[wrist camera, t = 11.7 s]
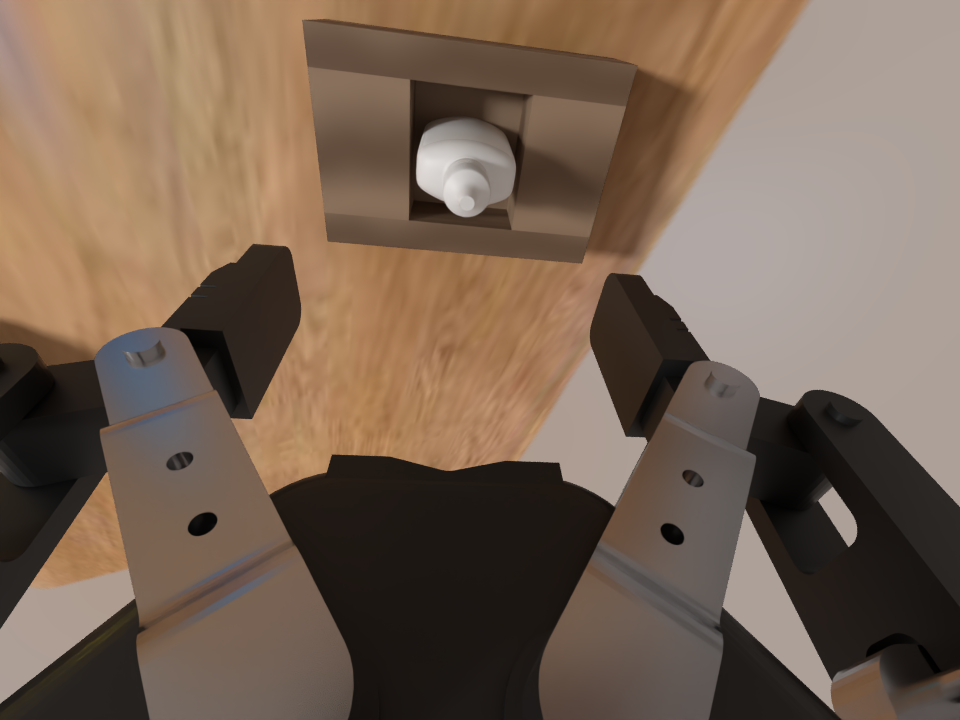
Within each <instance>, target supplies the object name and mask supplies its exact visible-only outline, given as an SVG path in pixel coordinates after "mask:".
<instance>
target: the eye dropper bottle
mask: <svg viewBox="0 0 960 720" xmlns="http://www.w3.org/2000/svg"><path fill="white" fill-rule="evenodd" d="M515 173H516V163H515V159H514V156H513V153H512V150H511V147H510V145H509V142H508V139H507V137H506V135H505V134H504V132H502V131H501V130H500V129H498V128H497V127H495V126H493V125H491V124H489V123H487V122H485V121H482V120H479V119H476V118H472V117H465V116H451V117H444V118H440V119H436V120H433V121H431V122H429V123H428V124H427V125H426V126H425V129H424V132H423V135H422V139H421V142H420V145H419V149H418V153H417V166H416V179H417V183H418V185H419V186H420V188H421V189H423V190H424V191H425V192H427V193H428V194H430V195H432V196H434V197H435V198H438V199H440V200H442V201H444V202H445V204H446V205H447V207H448V208H449V209H450V210H451V212H453V213H455V214H456V215H458V216H462V217H473V216H475V215H477V214H479V213H481V212H482V211H483V210H485V208H486V206H488V205H489V204H493V203H497V202H499V201H502V200H504V199H506V198H507V197H509V196H510V194H511V193H512V190H513V186H514V180H515Z"/></svg>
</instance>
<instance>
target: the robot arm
mask: <svg viewBox="0 0 960 720" xmlns="http://www.w3.org/2000/svg"><path fill="white" fill-rule="evenodd" d="M200 285H201V287H198V288H197V289H196V290H195V291H194V292H193V293H192V294H191V297H188V298H187V299H186V300H185V302H184V303H183V304H182V305H181V306H180V307H179V308H178V309H177V310H176V311H175V312H174V313H173V315H172V316H171V317H170V318H169V319H168V320H167V321H166V322H165V323H164V324H163V325H162V326H161V327H155V328H146V329H140V330H136V331H132V332H129V333H126V334H124V335H121V336H119V337H117V338H115V339H113V340H111V341H110V342H108V343H107V344H105V345H104V346H103V347H102V348H101V349H100V350H99V351H98V353H97V354H96V356H95V360H90V361H83V362H75V363H68V364H60V365H52V366H46V365H45V363H44V362H43V360H42V359H41V358H40V356H39V355H38V353H37V352H36V350H35V349H33V348H32V347H30V346H27V345H23V344H13V343H9V344H0V628H1V627H2V626H3V624H4V623H5V621H6V620H7V618H8V617H9V615H10V614H11V612H12V611H13V609H14V608H15V606H16V605H17V603H18V602H19V600H20V599H21V597H22V596H23V595H24V593H25V592H26V590H27V589H28V587H29V586H30V584H31V583H32V581H33V580H34V578H35V577H36V575H37V574H38V572H39V571H40V569H41V568H42V566H43V565H44V563H45V562H46V561H47V559H48V558H49V556H50V555H51V553H52V552H53V550H54V549H55V547H56V546H57V544H58V543H59V541H60V540H61V538H62V537H63V535H64V534H65V532H66V531H67V529H68V528H69V526H70V525H71V524H72V522H73V521H74V519H75V518H76V516H77V515H78V513H79V512H80V510H81V509H82V507H83V506H84V504H85V503H86V501H87V500H88V498H89V497H90V495H91V494H92V492H93V491H94V490H95V488H96V487H97V485H98V484H99V482H100V481H101V479H102V478H103V476H104V475H105V473H106V472H108V475H109V480H110V485H111V489H112V494H113V498H114V503H115V508H116V512H117V517H118V521H119V526H120V531H121V535H122V540H123V544H124V549H125V554H126V558H127V563H128V568H129V572H130V577H131V581H132V586H133V591H134V595H135V599H134V600H132V601H131V602H130V603H129V604H127V605H126V606H125V607H123V608H122V609H121V610H120V611H118V612H117V613H116V614H114V615H113V616H112V617H111V618H109V619H108V620H107V621H106V622H104V623H103V624H102V625H100V626H99V627H98V628H97V629H95V630H94V631H93V632H91V633H90V634H89V635H88V636H86V637H85V638H84V639H82V640H81V641H80V642H79V643H77V644H76V645H75V646H74V647H72V648H71V649H70V650H69V651H67V652H66V653H65V654H63V655H62V656H61V657H59V658H58V659H57V660H56V661H54V662H53V663H52V664H51V665H49V666H48V667H47V668H45V669H44V670H43V671H42V672H40V673H39V674H38V675H36V676H35V677H34V678H33V679H31V680H30V681H29V682H27V684H25V685H24V686H22V687H21V688H20V689H19V690H17V691H16V692H15V693H14V694H12V695H11V696H10V697H8V698H7V699H6V700H5V701H3V702H2V703H1V704H0V720H960V507H959V506H958V505H957V504H956V503H955V502H954V500H953V499H952V498H951V497H950V496H949V495H948V494H947V493H946V492H945V491H944V490H943V489H942V488H941V487H940V485H939V484H938V483H937V482H936V481H935V480H934V479H933V478H932V477H931V476H930V475H929V474H928V473H927V472H926V470H925V469H924V468H923V467H922V466H921V465H920V464H919V463H918V462H917V461H916V460H915V459H914V458H913V457H912V456H911V454H910V453H909V452H908V451H907V450H906V449H905V448H904V447H903V446H902V445H901V444H900V443H899V441H898V440H897V439H896V438H895V437H894V436H893V435H892V434H891V433H890V432H889V431H888V430H887V429H886V428H885V426H884V425H883V424H882V423H881V422H880V421H879V420H878V419H877V418H876V417H875V416H874V415H873V414H872V413H871V412H869V411H868V410H867V409H865V408H864V407H862V406H861V405H860V404H858V403H856V402H855V401H852V400H851V399H849V398H846V397H844V396H842V395H839V394H836V393H833V392H829V391H824V390H811V391H808V392H806V393H805V394H804V395H803V396H802V398H801V399H800V400H799V401H798V403H797V404H796V405H795V406H792V405H788V404H785V403H781V402H777V401H774V400H770V399H766V398H762V397H760V394H759V391H758V388H757V387H756V385H755V384H754V383H753V382H752V381H751V380H750V379H749V378H748V377H747V376H745V375H744V374H743V373H741V372H740V371H738V370H736V369H734V368H732V367H730V366H728V365H725V364H722V363H718V362H714V361H710V360H709V358H708V357H707V355H706V354H705V352H704V351H703V349H702V348H701V347H700V345H699V344H698V342H697V341H696V340H695V338H694V337H693V335H692V334H691V332H688V328H687V327H686V325H685V324H684V323H683V322H681V318H680V317H679V315H678V314H677V312H676V311H675V310H674V308H673V307H672V306H670V305H669V304H668V303H667V302H666V301H664V300H663V299H662V298H660V297H659V296H657V295H654V294H653V293H652V292H651V290H650V289H649V287H648V286H647V284H646V282H645V281H644V279H643V278H642V277H641V276H640V275H629V274H616V273H611V274H609V276H608V277H607V279H606V281H605V283H604V286H603V290H602V293H601V296H600V299H599V302H598V305H597V308H596V311H595V314H594V317H593V320H592V324H591V329H590V343H591V347H592V349H593V352H594V355H595V357H596V359H597V362H598V365H599V368H600V370H601V373H602V375H603V378H604V381H605V383H606V386H607V388H608V391H609V394H610V396H611V399H612V401H613V404H614V407H615V409H616V412H617V415H618V417H619V420H620V422H621V425H622V428H623V430H624V433H625V435H626V437H645V438H646V440H647V442H648V443H647V445H646V447H645V449H644V451H643V452H642V454H641V456H640V458H639V460H638V462H637V464H636V466H635V468H634V470H633V472H632V474H631V475H630V477H629V480H628V481H627V483H626V485H625V487H624V489H623V491H622V493H621V495H620V497H619V498H618V501H617V502H616V504H615V506H613V505H612V504H610V503H609V502H608V501H606V500H604V499H603V498H601V497H600V496H598V495H596V494H595V493H593V492H591V491H589V490H587V489H585V488H583V487H580V486H578V485H575V484H573V483H570V482H567V481H563V478H562V474H561V469H560V464H559V463H548V462H521V461H502V462H497V463H492V464H486V465H481V466H476V467H470V468H465V469H460V470H455V471H444V470H439V469H436V468H432V467H428V466H424V465H420V464H416V463H412V462H409V461H405V460H401V459H397V458H393V457H385V456H358V455H332V456H331V460H330V463H329V467H328V470H327V473H322V474H317V475H314V476H311V477H307V478H304V479H301V480H299V481H296V482H294V483H291V484H289V485H287V486H285V487H283V488H281V489H279V490H277V491H275V492H273V493H272V494H270V495H269V494H268V492H267V490H266V488H265V486H264V484H263V482H262V480H261V478H260V476H259V474H258V472H257V470H256V468H255V466H254V464H253V462H252V460H251V458H250V456H249V454H248V452H247V450H246V448H245V446H244V444H243V442H242V440H241V438H240V436H239V434H238V432H237V430H236V428H235V426H234V424H233V422H232V420H231V418H239V419H252V418H253V416H254V414H255V412H256V410H257V408H258V406H259V404H260V402H261V400H262V398H263V396H264V394H265V392H266V390H267V388H268V386H269V384H270V382H271V380H272V378H273V376H274V374H275V372H276V370H277V368H278V366H279V364H280V362H281V360H282V358H283V356H284V354H285V352H286V350H287V348H288V346H289V344H290V342H291V340H292V338H293V336H294V334H295V332H296V330H297V328H298V326H299V323H300V318H301V302H300V297H299V291H298V286H297V280H296V275H295V270H294V264H293V259H292V255H291V252H290V250H289V248H288V247H286V246H273V245H261V244H253V245H252V246H251V247H250V248H249V249H248V250H247V251H246V252H245V253H244V255H243V256H242V257H241V258H240V259H239V260H238V262H237V263H229V264H227V265H225V266H223V267H221V268H219V269H217V270H215V271H213V272H211V273H210V275H209V276H208V277H207V278H206V279H205V280H204V281H203V282H202V283H201V284H200ZM832 487H834V489H835V490H836V491H837V493H838V494H839V496H840V497H841V499H842V500H843V502H844V503H845V504H846V506H847V507H848V509H849V510H850V511H851V513H852V514H853V516H854V518H855V520H856V524H857V537H856V540H855V542H854V543H853V544H852V545H851V546H850V547H848V546H847V544H846V543H845V541H844V540H843V538H842V537H841V535H840V533H839V532H838V531H837V529H836V527H835V526H834V525H833V523H832V521H831V520H830V518H829V517H828V515H827V514H826V512H825V511H824V509H823V508H822V506H821V505H820V503H819V502H818V500H819V499H820V498H821V497H822V496H823V495H824V494H825V493H826V492H827V491H828V490H830V489H831V488H832ZM745 509H746V511H747V513H748V515H749V517H750V519H751V521H752V523H753V525H754V527H755V529H756V531H757V533H758V535H759V537H760V539H761V541H762V543H763V545H764V547H765V549H766V551H767V553H768V555H769V557H770V559H771V561H772V563H773V565H774V567H775V569H776V571H777V573H778V575H779V577H780V579H781V581H782V583H783V585H784V587H785V589H786V591H787V593H788V595H789V597H790V599H791V601H792V603H793V605H794V607H795V609H796V611H797V613H798V615H799V617H800V619H801V621H802V622H803V625H804V627H805V629H806V631H807V633H808V635H809V637H810V639H811V641H812V643H813V644H814V647H815V649H816V651H817V653H818V655H819V657H820V658H821V660H822V663H823V665H824V666H825V668H826V670H827V672H828V674H829V676H830V678H831V680H832V685H831V699H832V704H833V708H834V711H835V712H833V711H832V710H831V709H830V708H829V707H828V706H827V705H826V704H825V703H824V702H823V701H822V700H821V699H819V697H817V696H816V695H815V694H814V693H813V692H812V691H811V690H810V689H809V688H808V687H807V686H806V685H805V684H804V683H803V682H802V681H800V680H799V679H798V678H797V677H796V676H795V675H794V674H793V673H792V672H791V671H790V670H788V668H786V666H784V665H783V664H782V663H781V662H780V661H779V660H778V659H777V658H776V657H775V656H774V655H773V654H772V653H771V652H770V651H769V650H767V649H766V648H765V647H764V646H763V645H762V644H761V643H760V642H759V641H758V640H757V639H756V638H755V637H753V635H752V634H750V633H749V632H748V631H747V630H746V629H745V628H744V627H743V626H742V625H741V624H740V623H739V622H738V621H736V620H735V619H734V618H733V617H732V616H731V615H730V614H729V613H728V612H727V611H726V610H725V609H724V608H723V607H722V606H723V602H724V597H725V593H726V589H727V584H728V580H729V575H730V571H731V567H732V563H733V558H734V554H735V550H736V545H737V541H738V537H739V532H740V528H741V524H742V519H743V515H744V510H745Z"/></svg>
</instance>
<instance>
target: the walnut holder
mask: <svg viewBox="0 0 960 720" xmlns="http://www.w3.org/2000/svg"><path fill="white" fill-rule="evenodd" d="M302 22H303V31H304V39H305V48H306V57H307V65H308V74H309V83H310V92H311V100H312V109H313V118H314V126H315V135H316V144H317V153H318V161H319V170H320V179H321V187H322V196H323V205H324V214H325V222H326V231H327V240H328V241H329V242H340V243H352V244H363V245H375V246H386V247H398V248H409V249H421V250H432V251H444V252H455V253H467V254H478V255H490V256H501V257H512V258H524V259H535V260H547V261H558V262H570V263H581V264H582V262H583V259H584V255H585V251H586V248H587V244H588V241H589V237H590V234H591V230H592V226H593V223H594V219H595V216H596V212H597V209H598V205H599V202H600V198H601V194H602V191H603V187H604V184H605V180H606V177H607V173H608V169H609V166H610V162H611V159H612V155H613V152H614V148H615V144H616V141H617V137H618V134H619V130H620V127H621V123H622V119H623V116H624V112H625V109H626V105H627V102H628V98H629V95H630V91H631V87H632V84H633V80H634V77H635V73H636V70H637V66H638V65H634V64H631V63H627V62H624V61H621V60H617V59H614V58H608V57H600V56H593V55H586V54H578V53H571V52H564V51H556V50H549V49H542V48H534V47H527V46H520V45H512V44H505V43H498V42H490V41H483V40H475V39H468V38H461V37H453V36H446V35H439V34H431V33H424V32H417V31H409V30H402V29H395V28H387V27H380V26H373V25H365V24H358V23H351V22H343V21H336V20H329V19H317V20H302ZM451 116H465V117H472V118H476V119H479V120H482V121H485V122H487V123H489V124H491V125H493V126H495V127H497V128H498V129H500V130H501V131H502V132H504V134H505V135H506V137H507V139H508V142H509V145H510V147H511V150H512V153H513V156H514V159H515V163H516V173H515V180H514V186H513V190H512V193H511V194H510V196H509V197H507V198H506V199H504V200H502V201H499V202H497V203H493V204H489V205H488V206H486V208H485V210H483V211H482V212H481V213H479V214H477V215H475V216H473V217H462V216H458V215H456V214H455V213H453V212H451V210H450V209H449V208H448V207H447V205H446V204H445V202H444V201H442V200H440V199H438V198H435V197H434V196H432V195H430V194H428V193H427V192H425V191H424V190H423V189H421V188H420V186H419V185H418V183H417V179H416V166H417V153H418V149H419V145H420V142H421V139H422V135H423V132H424V129H425V126H426V125H427V124H428V123H429V122H431V121H433V120H436V119H440V118H444V117H451Z"/></svg>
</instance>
